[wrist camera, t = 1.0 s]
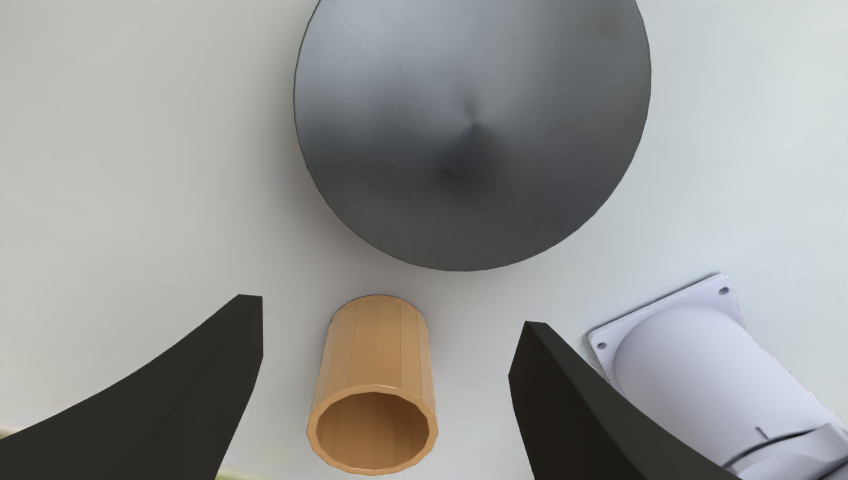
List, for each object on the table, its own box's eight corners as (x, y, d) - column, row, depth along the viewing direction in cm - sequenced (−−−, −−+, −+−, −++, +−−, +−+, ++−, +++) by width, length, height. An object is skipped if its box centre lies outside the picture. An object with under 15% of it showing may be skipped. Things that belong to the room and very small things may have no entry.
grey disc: (643, 148, 21) (692, 177, 17) (410, 271, 23) (412, 318, 20) (534, -157, 16) (574, -204, 12) (248, 43, 18) (212, 52, 15)
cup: (446, 347, 26) (460, 445, 20) (364, 387, 27) (355, 490, 21) (394, 277, 24) (393, 365, 18) (307, 323, 25) (279, 420, 19)
